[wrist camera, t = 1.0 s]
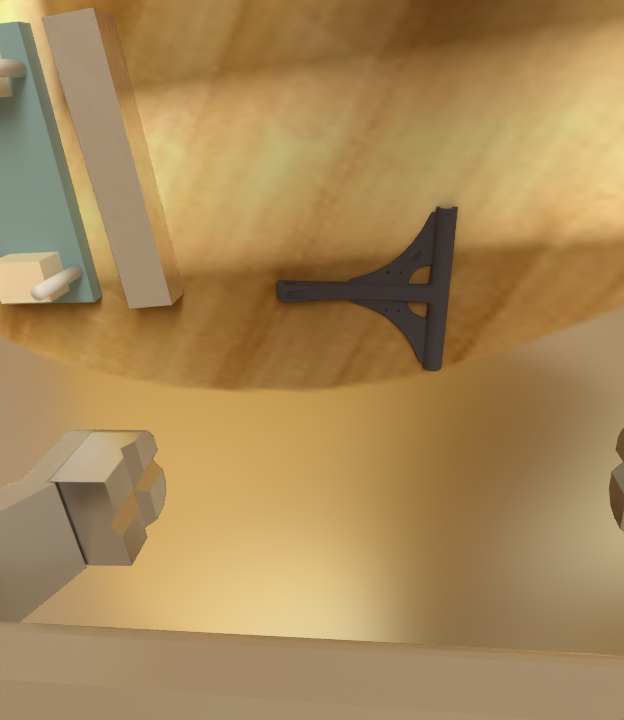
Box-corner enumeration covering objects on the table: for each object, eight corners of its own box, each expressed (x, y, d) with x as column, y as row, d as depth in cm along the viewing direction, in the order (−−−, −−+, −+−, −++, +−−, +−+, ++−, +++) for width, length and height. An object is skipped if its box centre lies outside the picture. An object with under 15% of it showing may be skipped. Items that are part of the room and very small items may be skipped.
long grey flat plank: (67, 22, 41) (41, 17, 38) (115, 13, 40) (93, 7, 37) (145, 295, 51) (129, 308, 48) (185, 291, 50) (171, 304, 47)
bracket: (276, 203, 45) (269, 210, 43) (456, 204, 44) (460, 212, 41) (283, 355, 52) (277, 369, 50) (440, 362, 50) (442, 377, 48)
